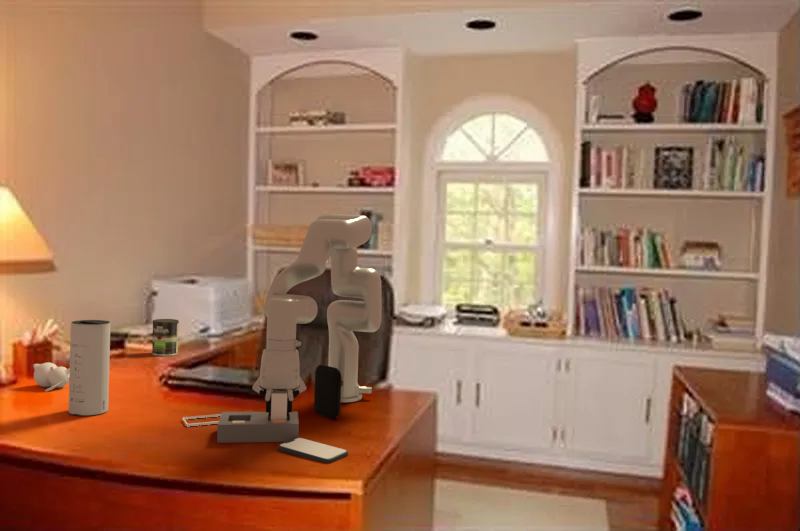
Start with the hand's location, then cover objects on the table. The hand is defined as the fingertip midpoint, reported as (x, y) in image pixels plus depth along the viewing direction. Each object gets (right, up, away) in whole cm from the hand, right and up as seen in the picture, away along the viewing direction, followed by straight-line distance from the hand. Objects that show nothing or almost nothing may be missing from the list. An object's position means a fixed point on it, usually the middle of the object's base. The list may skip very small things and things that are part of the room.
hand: (278, 414), depth 178 cm
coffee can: (-66, +2, +106) cm, 125 cm away
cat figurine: (-81, -1, +41) cm, 91 cm away
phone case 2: (+11, -7, -13) cm, 18 cm away
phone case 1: (-20, -5, +11) cm, 23 cm away
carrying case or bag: (+11, -5, +19) cm, 22 cm away
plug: (0, -2, 0) cm, 2 cm away
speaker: (-56, -3, +15) cm, 59 cm away
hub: (-5, -5, -1) cm, 7 cm away
